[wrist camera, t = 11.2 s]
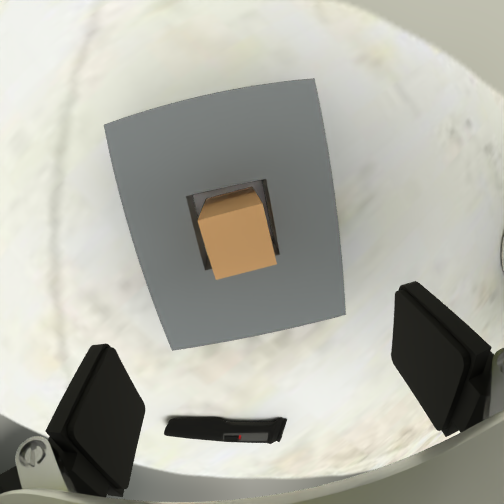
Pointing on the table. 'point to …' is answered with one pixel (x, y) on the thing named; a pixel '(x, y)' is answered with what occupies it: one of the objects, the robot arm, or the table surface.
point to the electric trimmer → (226, 430)
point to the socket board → (224, 175)
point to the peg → (236, 233)
